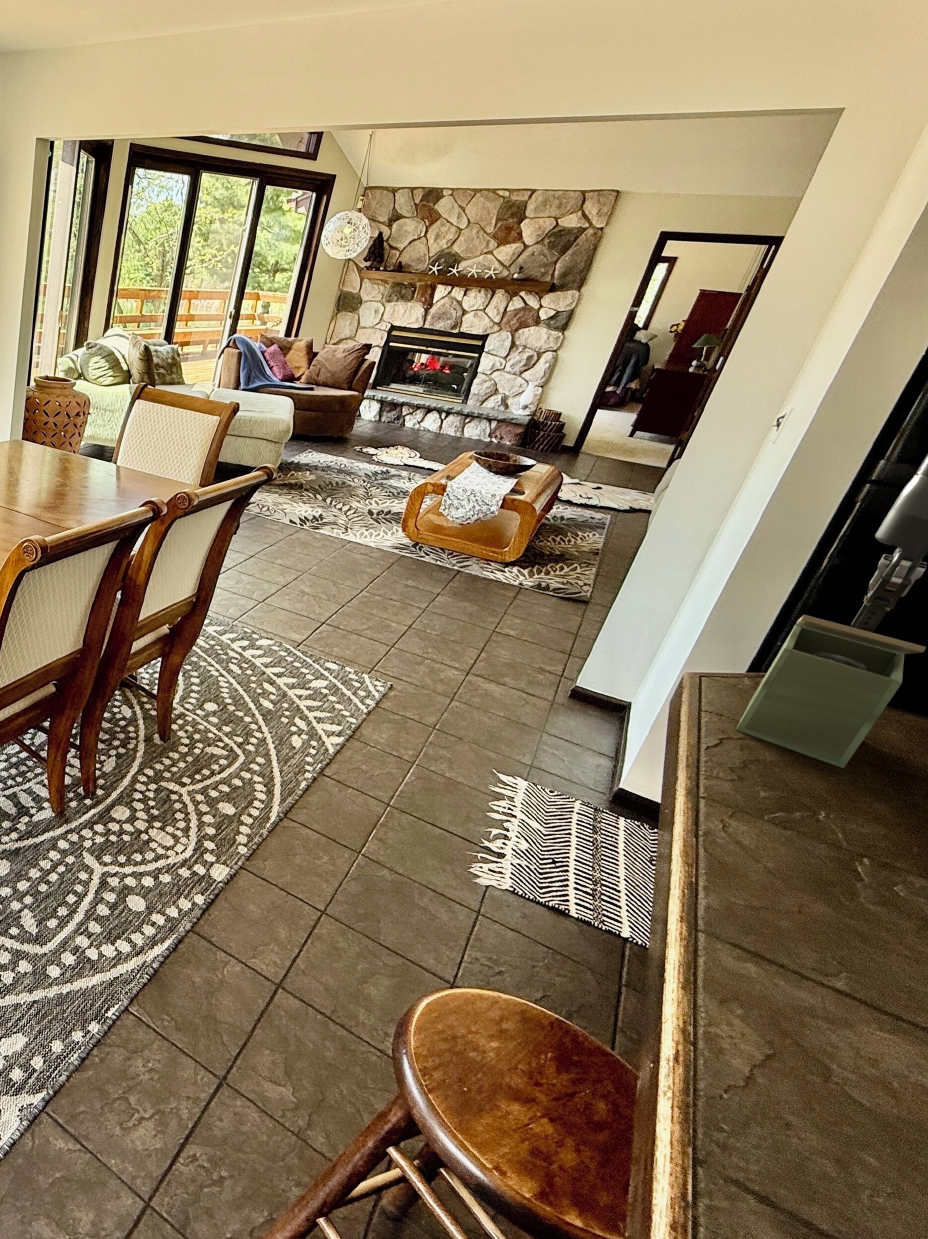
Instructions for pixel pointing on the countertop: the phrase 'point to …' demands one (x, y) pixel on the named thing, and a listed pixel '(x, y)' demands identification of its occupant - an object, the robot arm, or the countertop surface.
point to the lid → (860, 635)
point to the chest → (822, 695)
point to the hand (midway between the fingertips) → (861, 629)
